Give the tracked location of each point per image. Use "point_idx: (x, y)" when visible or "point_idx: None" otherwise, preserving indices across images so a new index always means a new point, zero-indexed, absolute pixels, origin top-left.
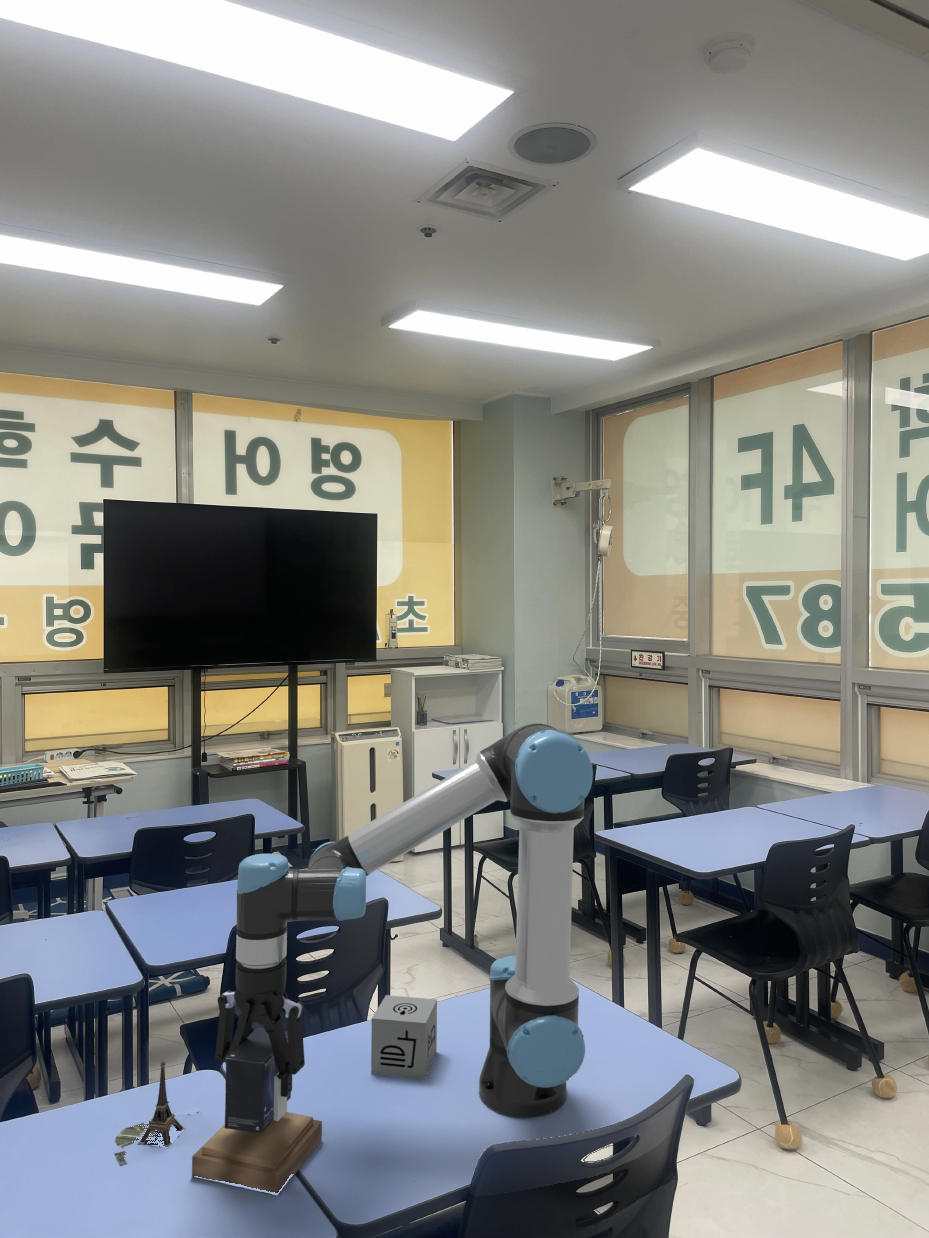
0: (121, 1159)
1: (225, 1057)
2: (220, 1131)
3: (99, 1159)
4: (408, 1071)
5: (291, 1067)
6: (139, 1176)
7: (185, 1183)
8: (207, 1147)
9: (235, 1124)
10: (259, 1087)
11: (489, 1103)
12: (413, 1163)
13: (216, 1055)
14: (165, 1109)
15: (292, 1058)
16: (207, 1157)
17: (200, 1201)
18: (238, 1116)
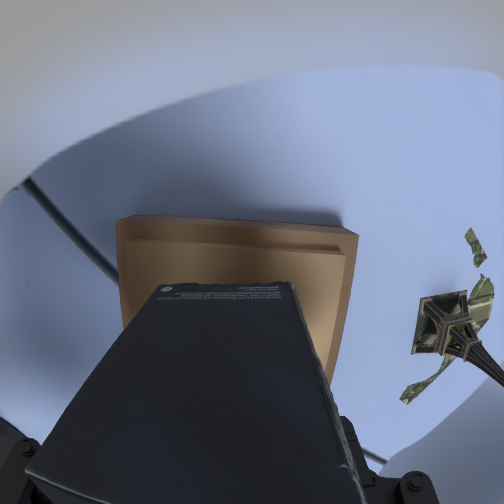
0: (474, 245)
1: (385, 493)
2: (328, 325)
3: (497, 236)
4: None
5: (28, 459)
6: (434, 206)
7: (346, 204)
8: (330, 256)
9: (251, 290)
10: (102, 372)
11: (21, 437)
12: (13, 340)
13: (426, 483)
14: (462, 345)
15: (10, 483)
16: (319, 239)
17: (284, 155)
18: (238, 302)
